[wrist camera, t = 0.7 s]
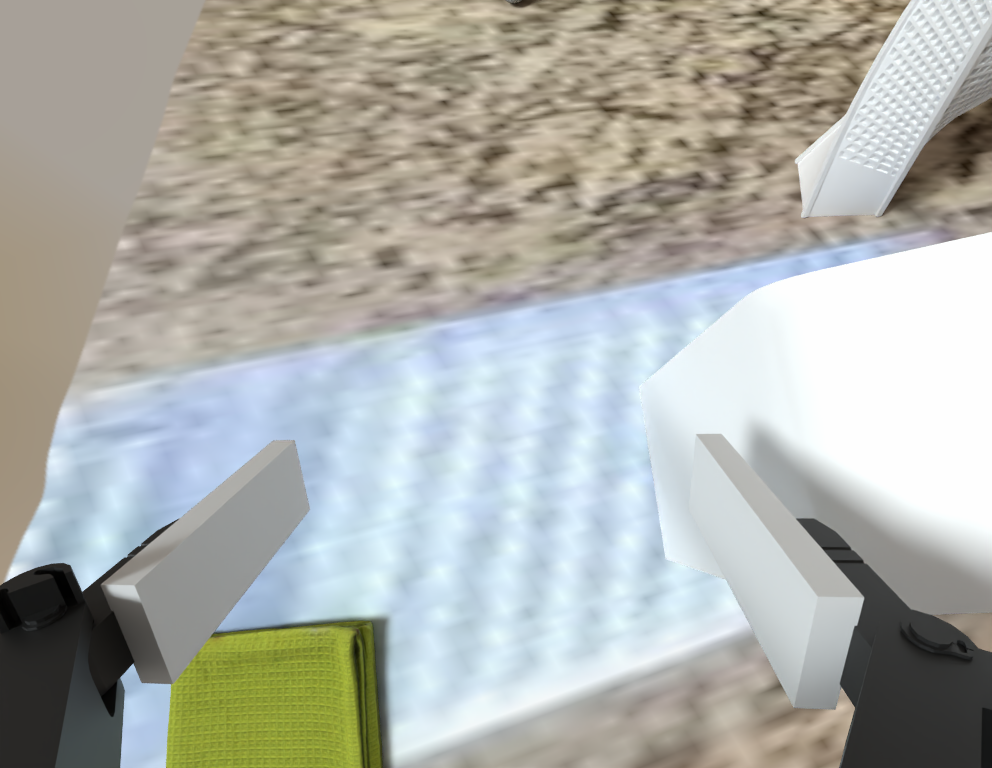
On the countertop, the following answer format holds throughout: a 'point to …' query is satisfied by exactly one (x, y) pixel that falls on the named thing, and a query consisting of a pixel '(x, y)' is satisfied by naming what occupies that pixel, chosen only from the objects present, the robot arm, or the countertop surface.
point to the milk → (851, 416)
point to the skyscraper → (900, 107)
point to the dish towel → (279, 700)
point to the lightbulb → (513, 1)
